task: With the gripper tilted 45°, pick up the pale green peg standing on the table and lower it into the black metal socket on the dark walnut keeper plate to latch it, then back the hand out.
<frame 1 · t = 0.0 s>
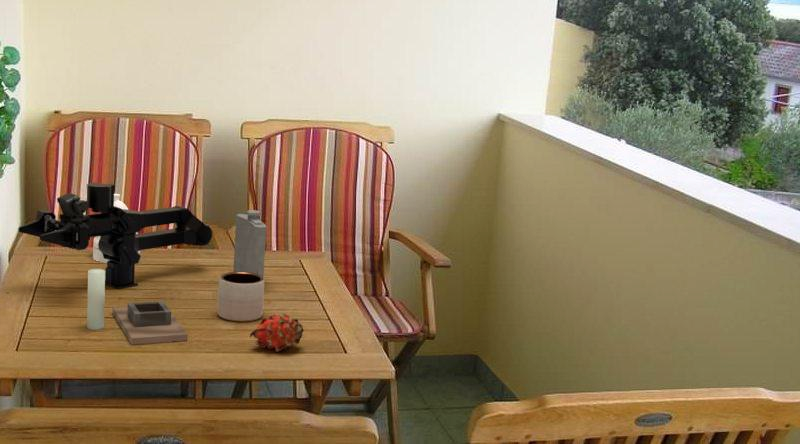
hand: (29, 233, 221), 17 cm above the table, tool horizontal, fingers open, 9 cm apart
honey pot: (116, 258, 268), on the table
keeper: (148, 326, 215), on the table
pale green peg: (95, 327, 211), on the table
hip flask: (249, 284, 255), on the table
dragon fruit: (276, 349, 208), on the table
planter: (240, 316, 228), on the table
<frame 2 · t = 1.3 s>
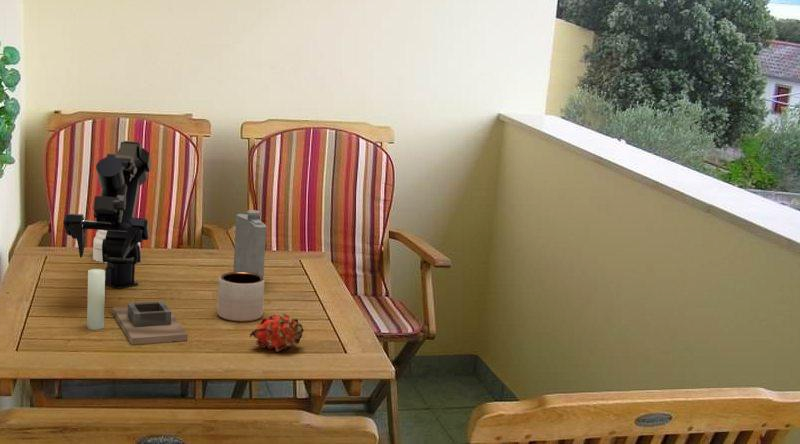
hand: (101, 257, 216), 14 cm above the table, tool tilted 45°, fingers open, 9 cm apart
nothing on the table moved.
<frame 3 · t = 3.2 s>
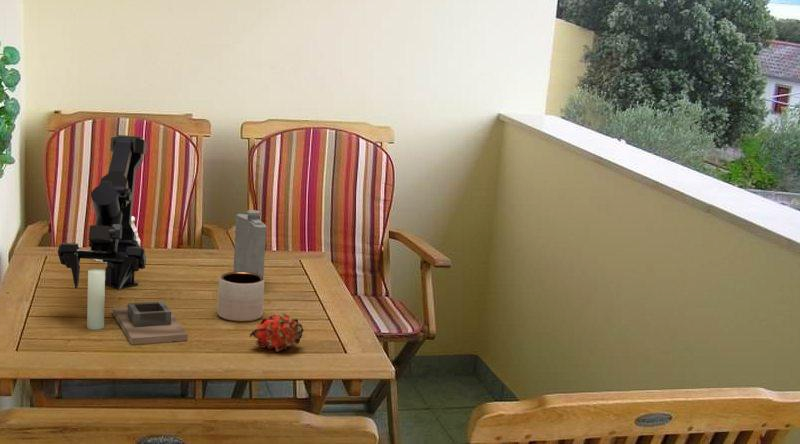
hand: (97, 288, 211), 9 cm above the table, tool tilted 45°, fingers open, 9 cm apart
nothing on the table moved.
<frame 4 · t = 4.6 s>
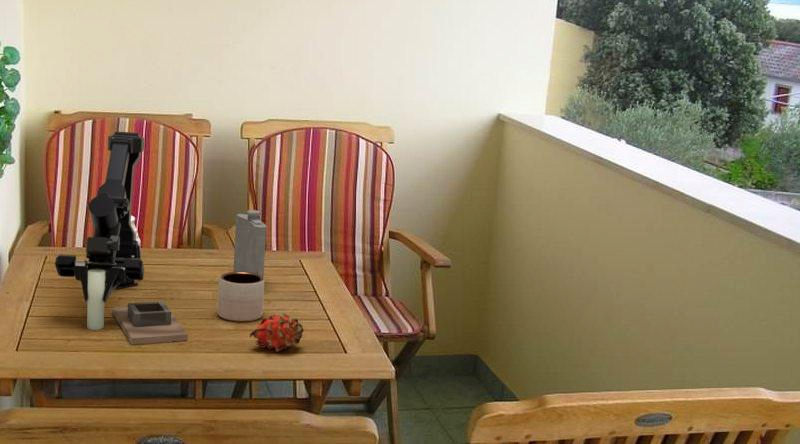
hand: (94, 300, 209), 7 cm above the table, tool tilted 45°, fingers closed on pale green peg, 4 cm apart
pale green peg: (95, 327, 211), on the table, touching gripper
everything else where it was.
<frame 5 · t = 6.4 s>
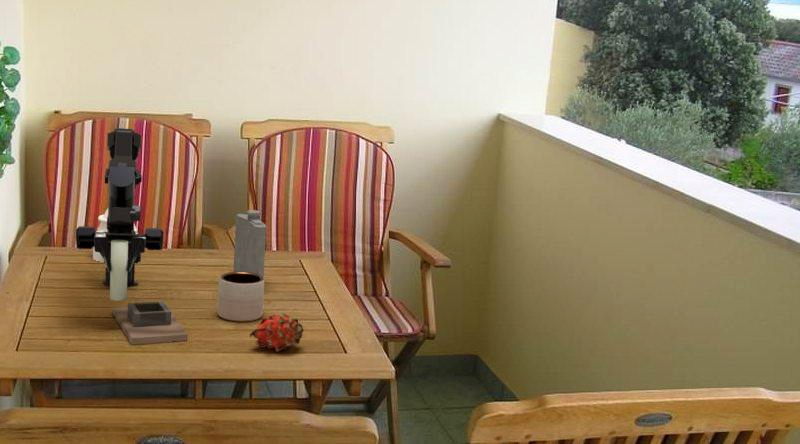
hand: (118, 271, 208), 13 cm above the table, tool tilted 45°, fingers closed on pale green peg, 4 cm apart
pale green peg: (118, 298, 211), point 7 cm above the table, touching gripper
everything else where it was.
when the fingers open (9 cm above the table, at t = 8.3 s): pale green peg stays where it is, resting on keeper.
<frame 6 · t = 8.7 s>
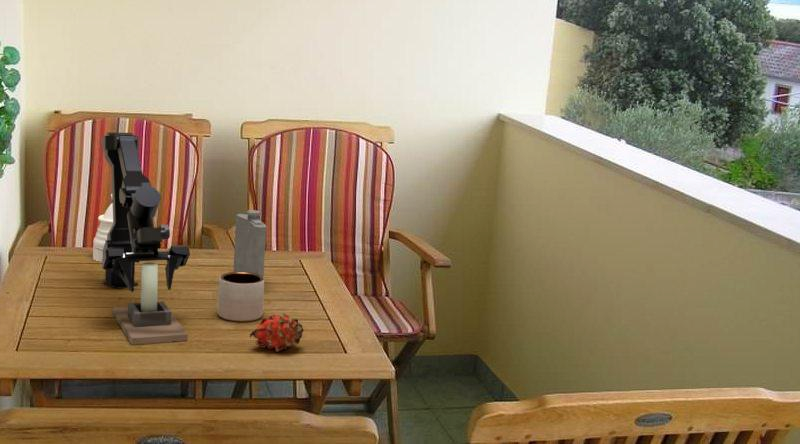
hand: (151, 290, 212), 9 cm above the table, tool tilted 45°, fingers open, 8 cm apart
pale green peg: (148, 320, 215), point 2 cm above the table, touching keeper
everything else where it was.
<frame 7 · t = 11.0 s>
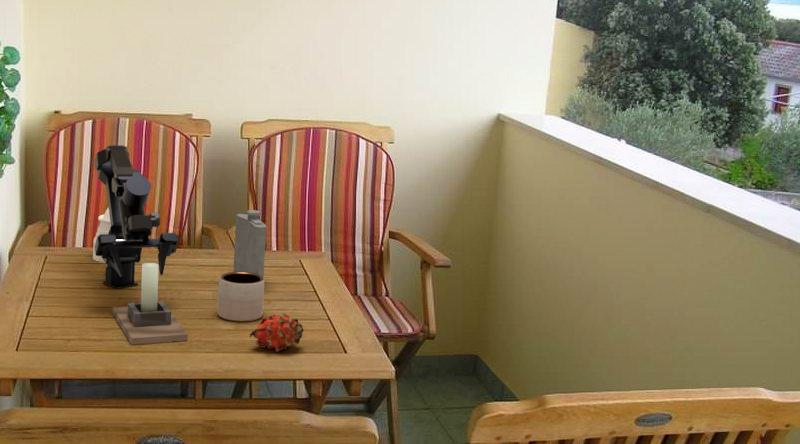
hand: (142, 275, 220), 10 cm above the table, tool tilted 45°, fingers open, 9 cm apart
nothing on the table moved.
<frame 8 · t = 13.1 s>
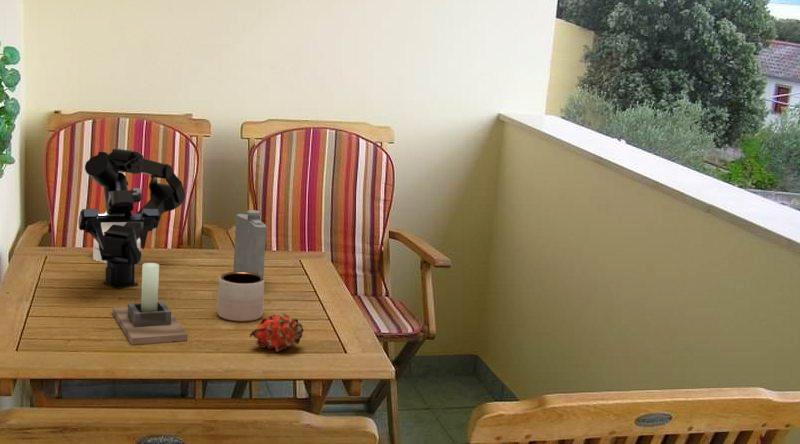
hand: (124, 248, 227), 14 cm above the table, tool tilted 45°, fingers open, 9 cm apart
nothing on the table moved.
at the end: pale green peg 0.0 cm off-centre on the keeper, point 1.5 cm above the keeper's base; pale green peg tilted 1°; the gripper is holding nothing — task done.
